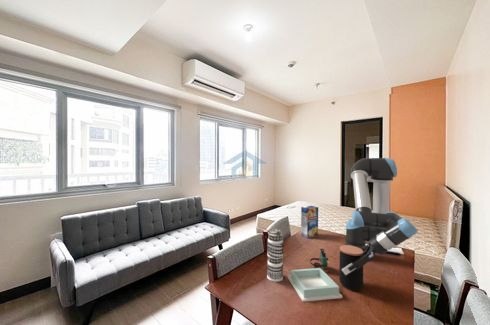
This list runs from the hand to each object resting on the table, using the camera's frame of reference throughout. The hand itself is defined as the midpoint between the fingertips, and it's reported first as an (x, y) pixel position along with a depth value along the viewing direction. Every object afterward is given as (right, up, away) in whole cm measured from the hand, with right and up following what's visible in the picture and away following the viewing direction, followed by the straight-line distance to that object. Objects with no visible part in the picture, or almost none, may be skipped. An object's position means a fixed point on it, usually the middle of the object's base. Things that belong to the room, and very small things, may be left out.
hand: (344, 267), depth 105 cm
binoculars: (-8, -8, +14) cm, 18 cm away
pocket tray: (-17, -8, -4) cm, 20 cm away
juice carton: (+3, -8, +67) cm, 68 cm away
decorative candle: (-35, -8, +5) cm, 36 cm away
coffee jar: (+2, -8, -2) cm, 9 cm away
